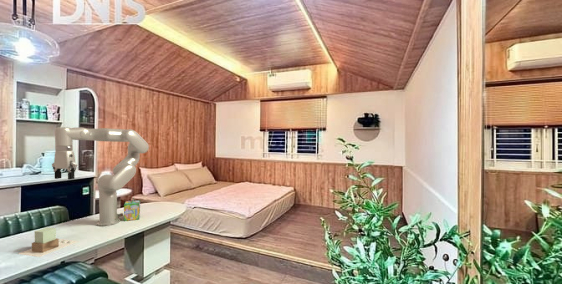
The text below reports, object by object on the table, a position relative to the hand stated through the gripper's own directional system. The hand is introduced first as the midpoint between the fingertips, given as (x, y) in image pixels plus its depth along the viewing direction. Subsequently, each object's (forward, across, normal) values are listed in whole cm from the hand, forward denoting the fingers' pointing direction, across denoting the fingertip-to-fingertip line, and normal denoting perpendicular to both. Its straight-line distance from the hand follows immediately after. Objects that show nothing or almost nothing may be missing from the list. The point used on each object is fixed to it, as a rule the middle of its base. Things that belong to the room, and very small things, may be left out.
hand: (64, 178), depth 144 cm
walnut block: (+31, -12, +18) cm, 38 cm away
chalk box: (+33, -14, -33) cm, 48 cm away
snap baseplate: (+32, -12, +16) cm, 38 cm away
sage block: (+27, -12, +18) cm, 35 cm away
